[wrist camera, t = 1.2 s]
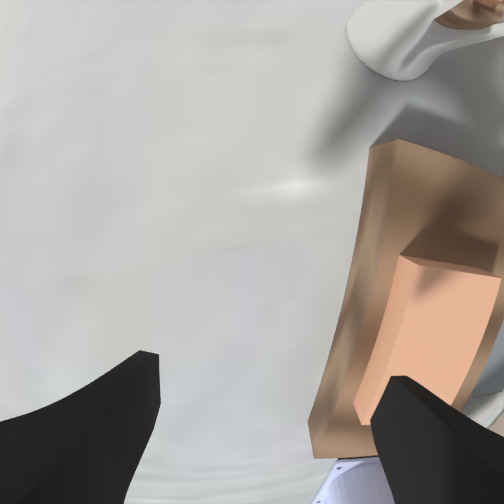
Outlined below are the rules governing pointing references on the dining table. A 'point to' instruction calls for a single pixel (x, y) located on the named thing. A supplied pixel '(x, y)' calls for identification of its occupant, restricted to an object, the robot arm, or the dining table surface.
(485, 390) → the mat
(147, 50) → the dining table surface
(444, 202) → the brown wooden block
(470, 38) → the beer glass
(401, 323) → the tile
